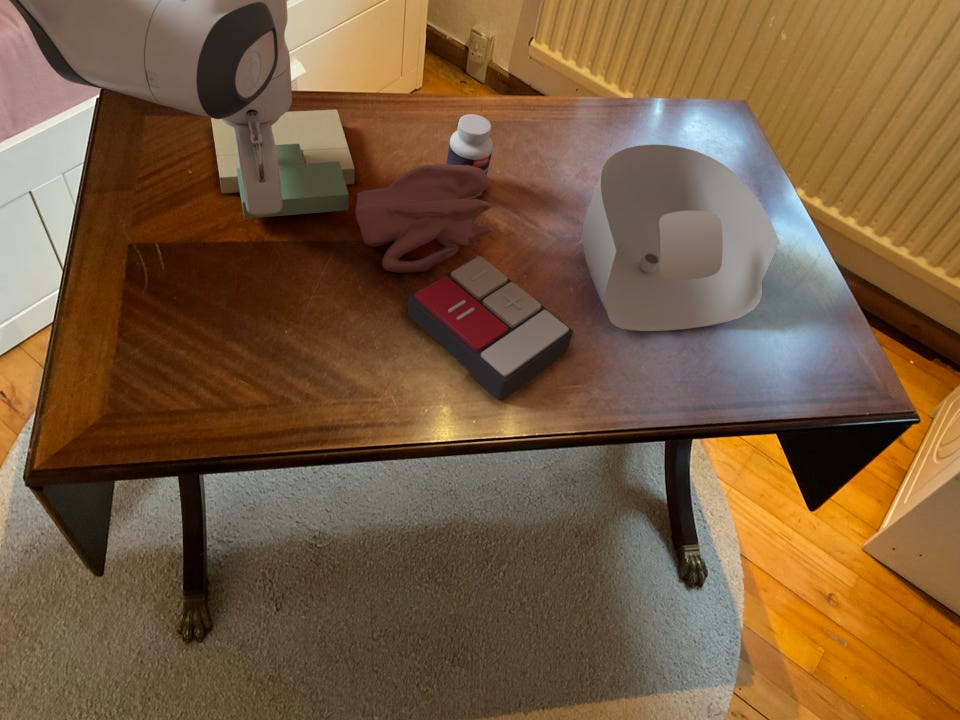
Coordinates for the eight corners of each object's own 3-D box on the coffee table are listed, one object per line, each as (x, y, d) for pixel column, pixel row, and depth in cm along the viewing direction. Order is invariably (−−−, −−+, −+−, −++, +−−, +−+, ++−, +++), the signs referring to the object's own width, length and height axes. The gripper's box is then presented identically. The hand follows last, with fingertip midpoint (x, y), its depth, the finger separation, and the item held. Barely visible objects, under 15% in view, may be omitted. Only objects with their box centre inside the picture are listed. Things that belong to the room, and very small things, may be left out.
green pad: (244, 219, 85) (242, 202, 83) (235, 163, 90) (232, 146, 88) (348, 210, 89) (348, 194, 87) (333, 157, 94) (333, 141, 92)
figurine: (388, 297, 89) (508, 267, 85) (349, 239, 81) (478, 203, 77) (394, 227, 96) (504, 196, 92) (358, 168, 88) (476, 131, 84)
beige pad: (222, 193, 89) (219, 177, 87) (213, 131, 96) (210, 114, 94) (354, 184, 94) (354, 168, 92) (337, 125, 100) (337, 109, 98)
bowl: (689, 215, 101) (726, 143, 91) (749, 324, 90) (797, 256, 81) (551, 220, 95) (575, 145, 86) (597, 337, 85) (629, 266, 75)
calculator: (480, 249, 85) (577, 326, 79) (475, 276, 88) (568, 352, 83) (407, 291, 80) (506, 378, 74) (405, 318, 83) (500, 403, 77)
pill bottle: (471, 206, 95) (483, 143, 87) (435, 188, 96) (444, 124, 88) (491, 184, 98) (504, 122, 90) (456, 167, 99) (467, 104, 91)
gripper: (293, 147, 70) (299, 250, 81) (266, 28, 81) (274, 133, 92) (224, 151, 69) (239, 256, 80) (205, 29, 80) (221, 136, 91)
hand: (258, 189), depth 86 cm, fingers closed on green pad, 6 cm apart
